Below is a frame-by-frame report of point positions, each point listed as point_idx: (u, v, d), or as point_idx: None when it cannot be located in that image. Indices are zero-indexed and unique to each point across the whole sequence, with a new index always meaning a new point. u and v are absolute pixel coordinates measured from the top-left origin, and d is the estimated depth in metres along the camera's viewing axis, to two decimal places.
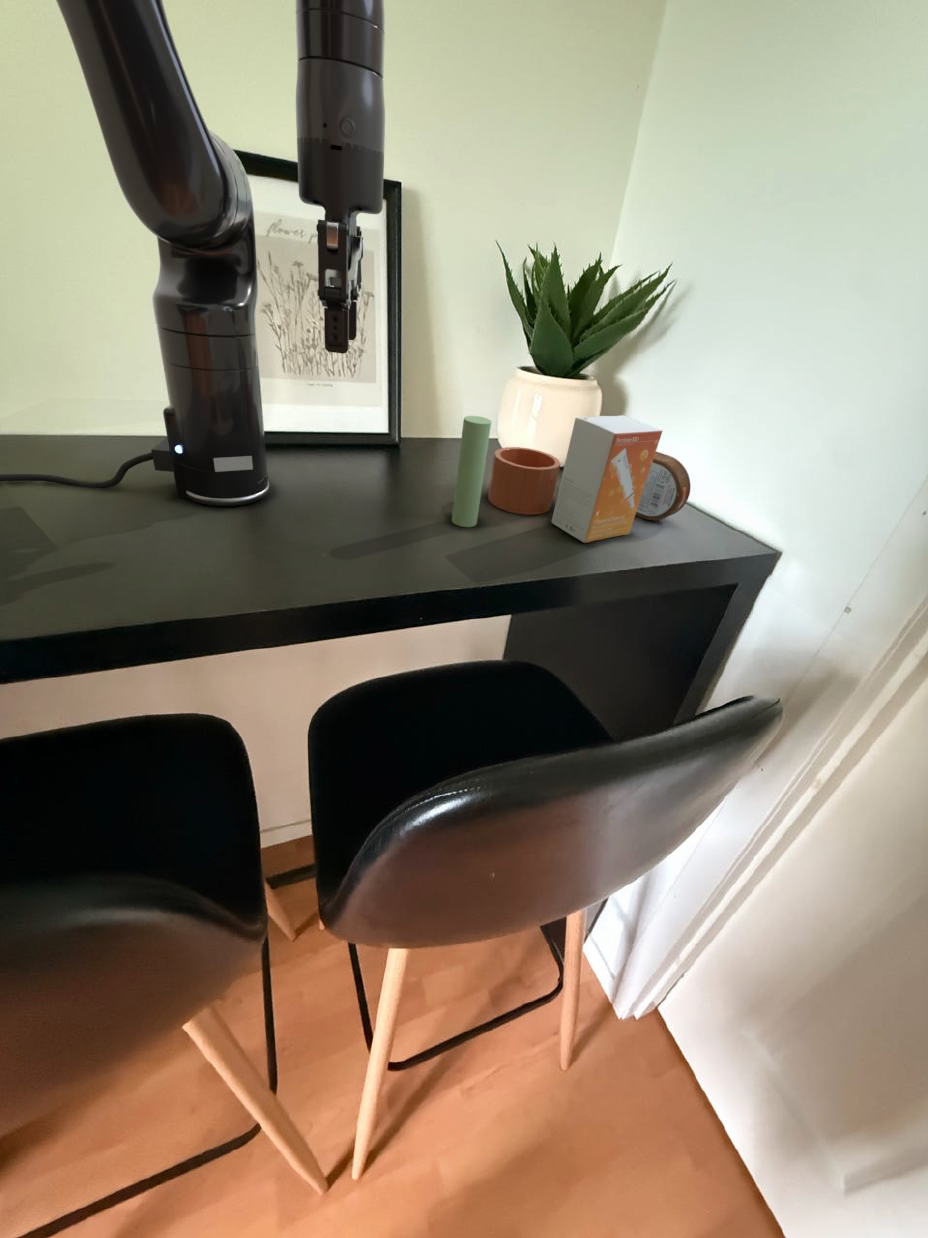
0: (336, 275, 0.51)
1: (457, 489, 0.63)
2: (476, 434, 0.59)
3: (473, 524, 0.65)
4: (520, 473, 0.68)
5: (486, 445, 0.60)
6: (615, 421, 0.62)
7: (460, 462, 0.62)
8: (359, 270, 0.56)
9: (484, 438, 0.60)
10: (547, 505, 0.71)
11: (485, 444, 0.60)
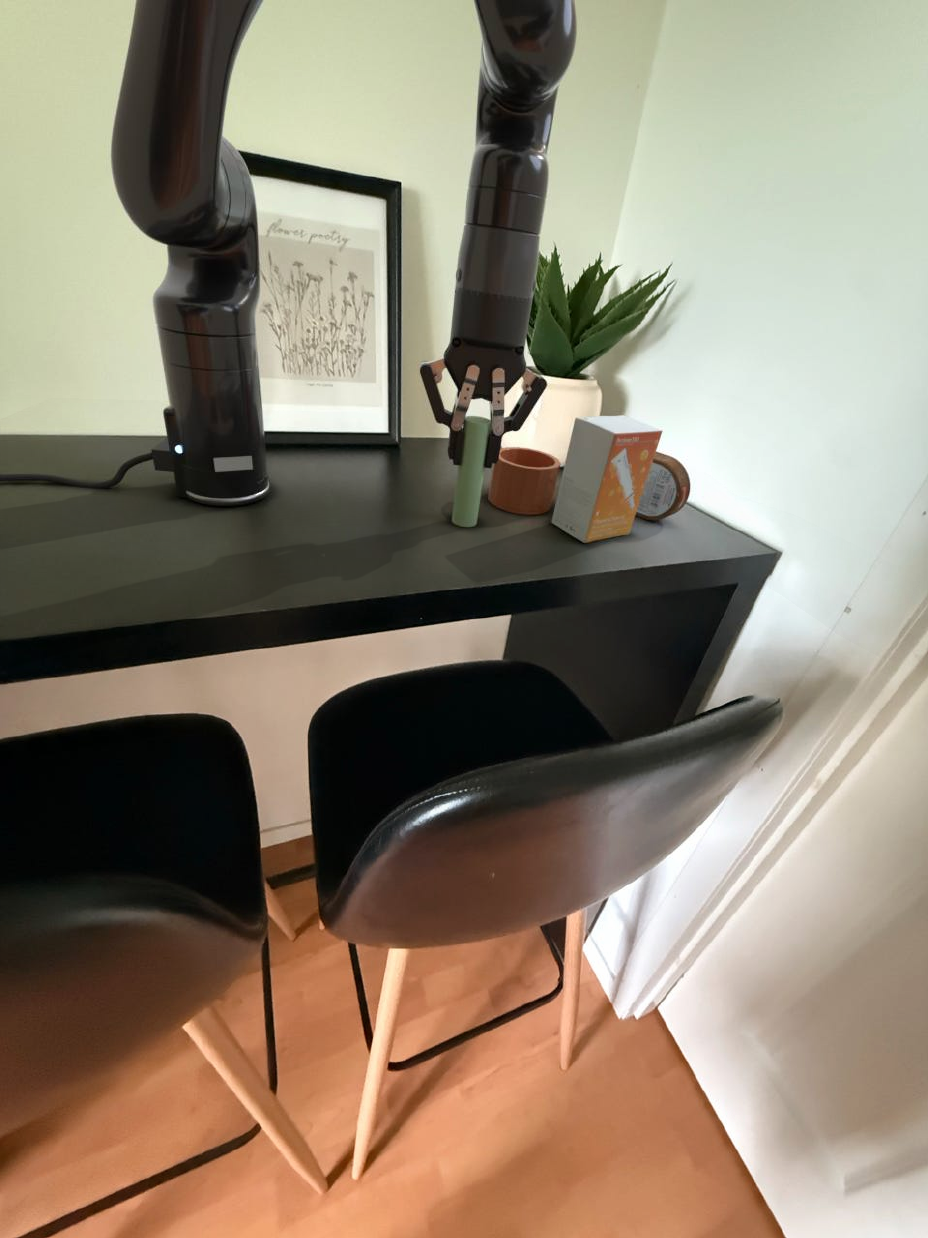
0: None
1: (457, 489, 0.63)
2: (476, 434, 0.59)
3: (473, 524, 0.65)
4: (520, 473, 0.68)
5: (486, 445, 0.60)
6: (615, 421, 0.62)
7: (460, 462, 0.62)
8: (492, 398, 0.57)
9: (484, 438, 0.60)
10: (547, 505, 0.71)
11: (485, 444, 0.60)
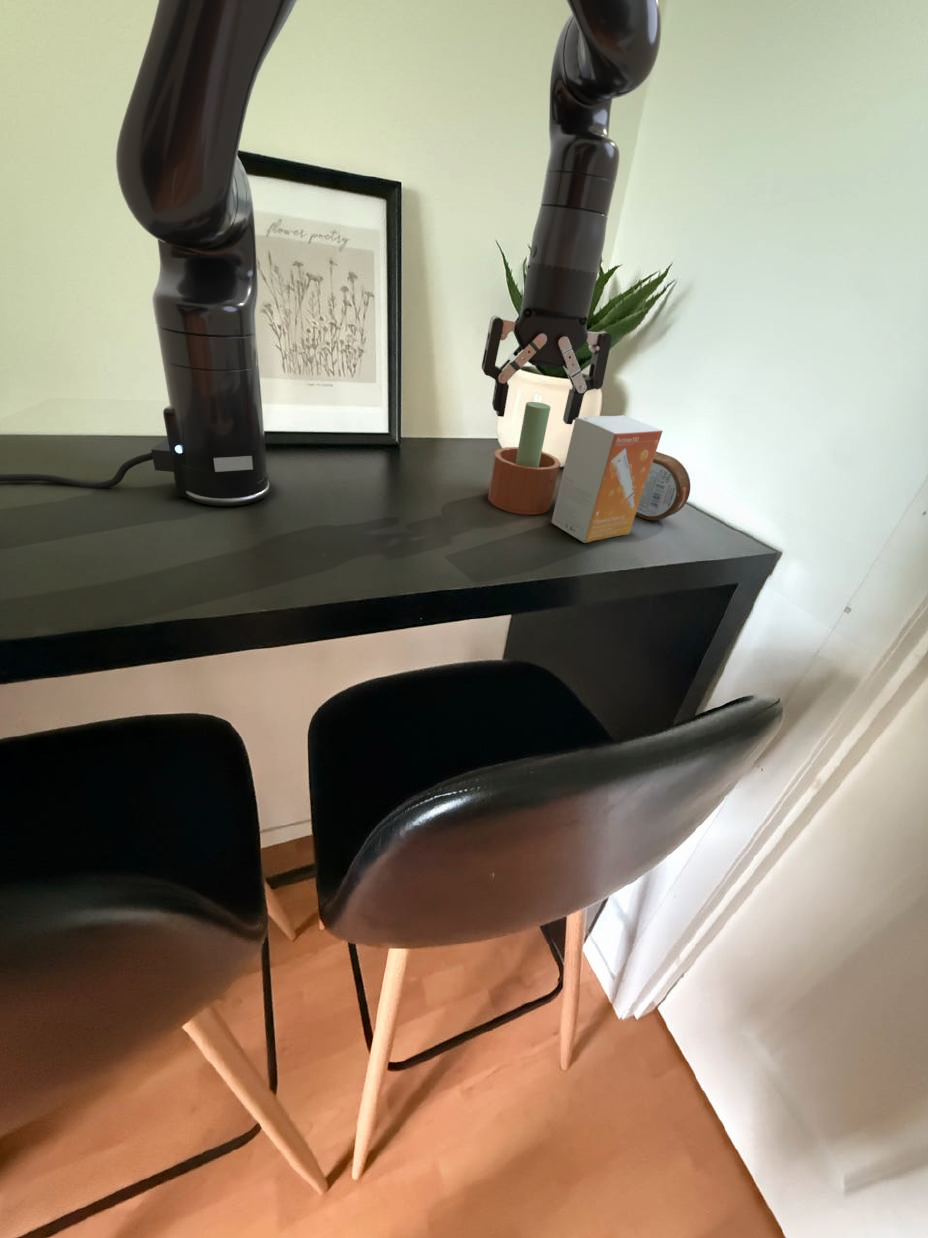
0: (510, 358, 0.64)
1: None
2: (538, 417, 0.66)
3: None
4: (520, 473, 0.68)
5: (545, 428, 0.68)
6: (615, 421, 0.62)
7: (521, 443, 0.69)
8: (565, 364, 0.63)
9: (544, 421, 0.67)
10: (547, 505, 0.71)
11: (544, 427, 0.67)
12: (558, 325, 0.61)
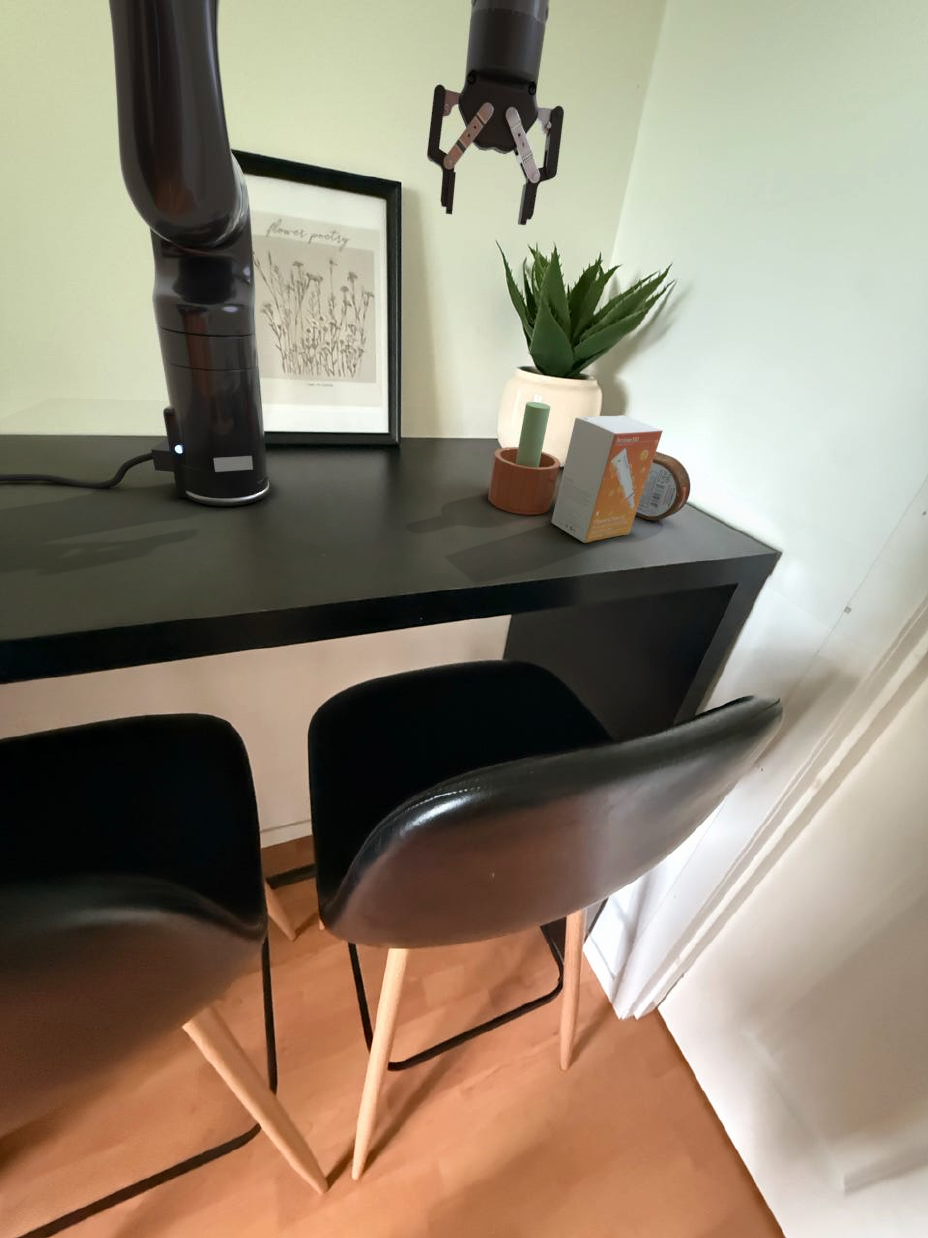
0: None
1: None
2: (538, 417, 0.66)
3: None
4: (520, 473, 0.68)
5: (545, 428, 0.68)
6: (615, 421, 0.62)
7: (521, 443, 0.69)
8: (515, 144, 0.59)
9: (544, 421, 0.67)
10: (547, 505, 0.71)
11: (544, 427, 0.67)
12: (505, 95, 0.57)
